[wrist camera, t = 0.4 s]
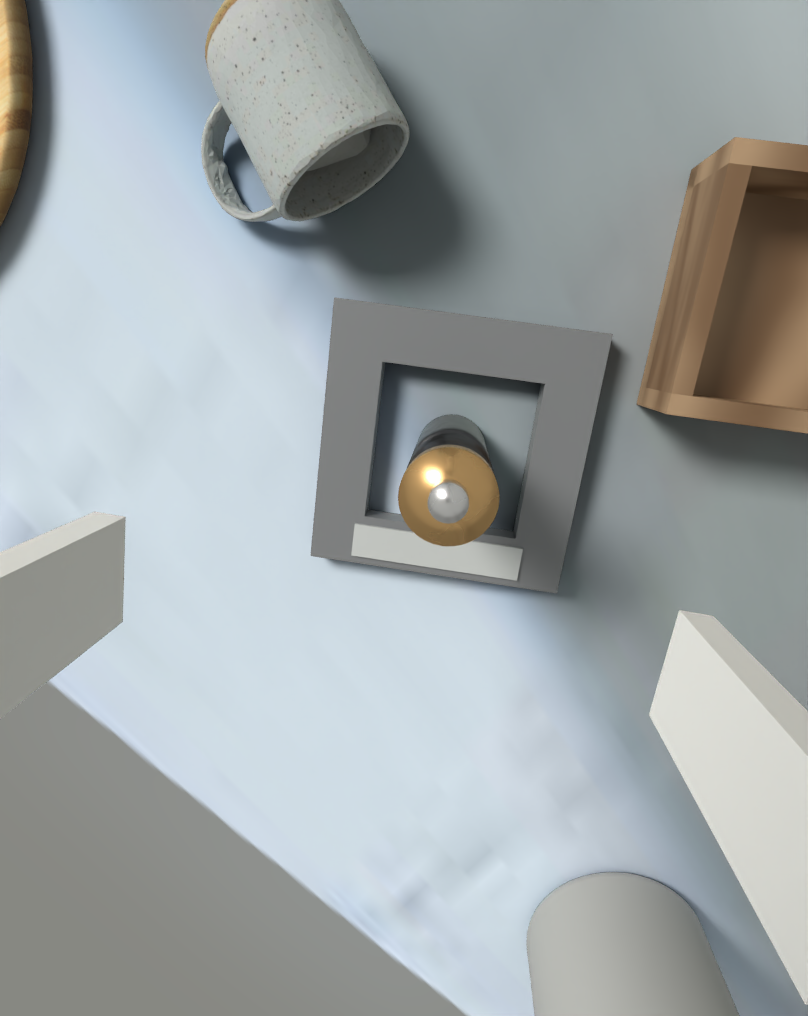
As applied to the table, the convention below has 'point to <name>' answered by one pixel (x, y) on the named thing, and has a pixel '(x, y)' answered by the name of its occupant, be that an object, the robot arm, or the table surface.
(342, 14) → the ceramic mug
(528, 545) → the grey flat square frame
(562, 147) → the table surface
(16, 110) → the wooden plate with food
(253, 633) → the table surface
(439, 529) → the battery cell
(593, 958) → the cylinder vase
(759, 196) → the walnut trough
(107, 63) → the table surface
